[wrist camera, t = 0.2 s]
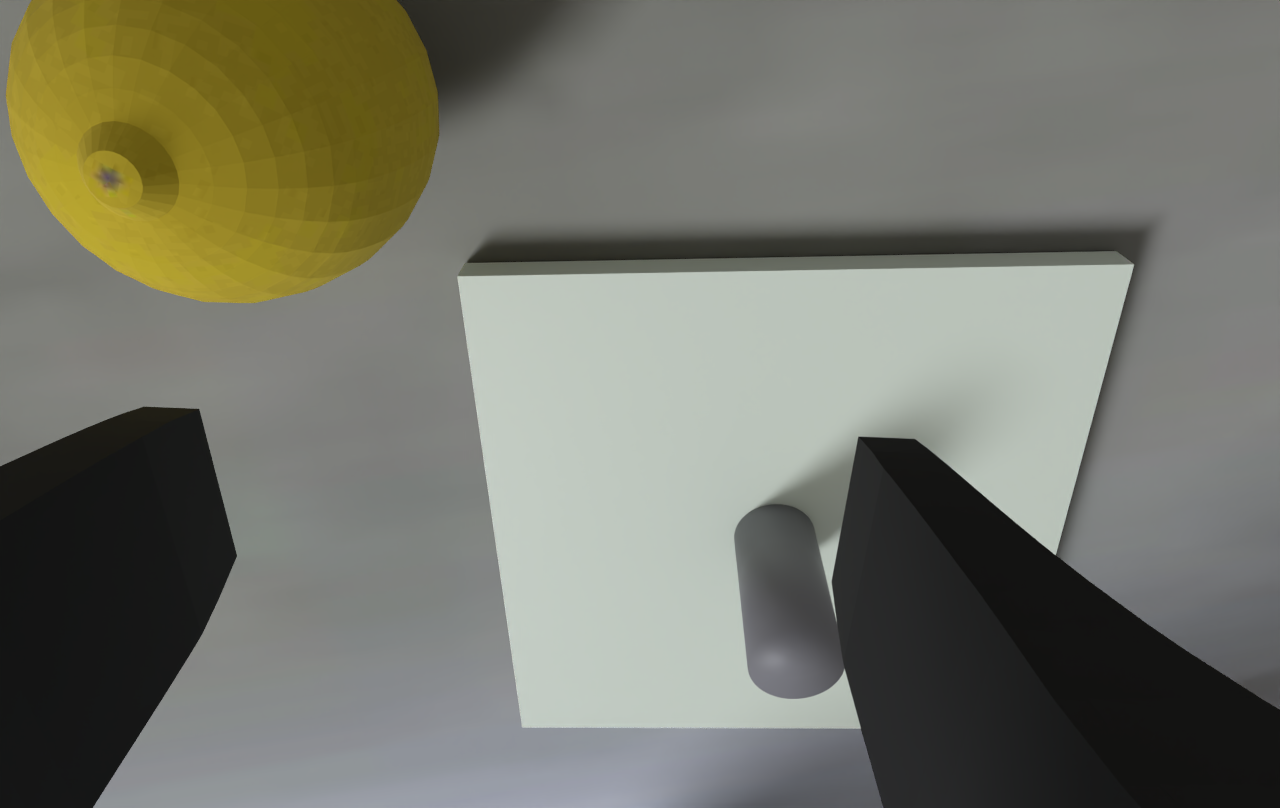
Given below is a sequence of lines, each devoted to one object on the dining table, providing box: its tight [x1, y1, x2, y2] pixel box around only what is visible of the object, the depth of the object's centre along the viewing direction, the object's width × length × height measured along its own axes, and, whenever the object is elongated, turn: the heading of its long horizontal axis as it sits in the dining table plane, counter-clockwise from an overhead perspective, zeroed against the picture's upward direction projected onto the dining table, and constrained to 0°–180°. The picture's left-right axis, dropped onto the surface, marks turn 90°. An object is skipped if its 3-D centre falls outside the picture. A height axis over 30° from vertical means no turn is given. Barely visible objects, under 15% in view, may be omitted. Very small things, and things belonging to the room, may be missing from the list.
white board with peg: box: [457, 251, 1134, 729], centre depth 20 cm, size 14×14×5 cm
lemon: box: [6, 0, 439, 303], centre depth 13 cm, size 6×6×8 cm
